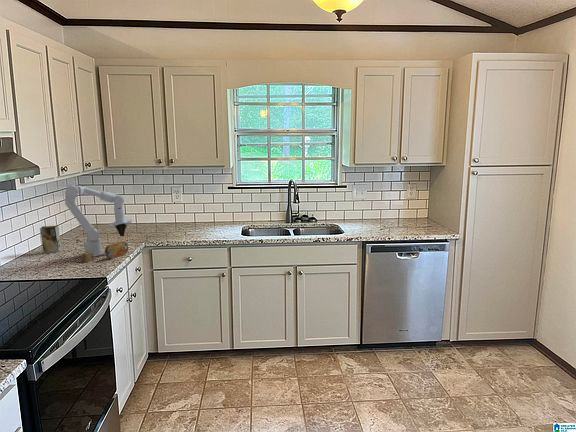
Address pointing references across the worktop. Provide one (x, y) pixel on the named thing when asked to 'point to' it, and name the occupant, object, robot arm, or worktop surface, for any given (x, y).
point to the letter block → (87, 257)
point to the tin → (116, 250)
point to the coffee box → (50, 239)
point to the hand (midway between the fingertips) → (122, 236)
